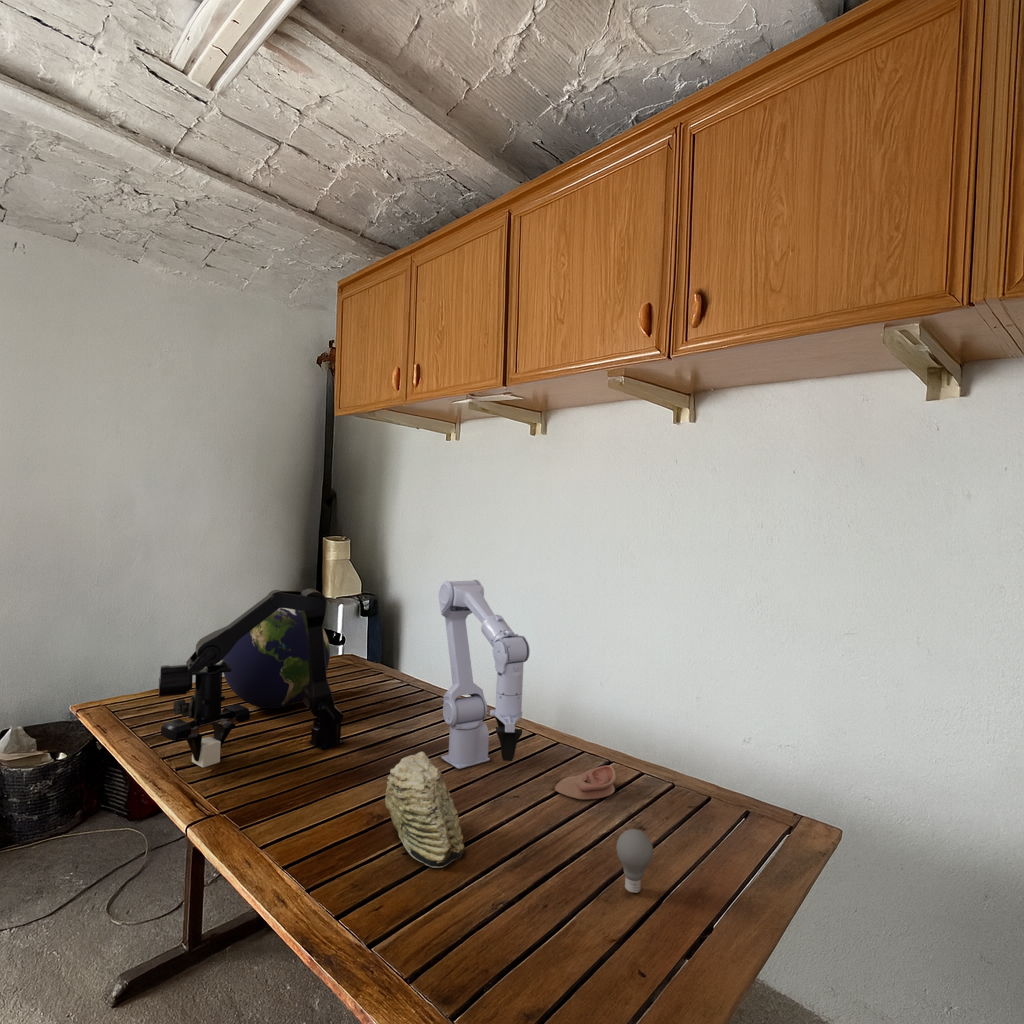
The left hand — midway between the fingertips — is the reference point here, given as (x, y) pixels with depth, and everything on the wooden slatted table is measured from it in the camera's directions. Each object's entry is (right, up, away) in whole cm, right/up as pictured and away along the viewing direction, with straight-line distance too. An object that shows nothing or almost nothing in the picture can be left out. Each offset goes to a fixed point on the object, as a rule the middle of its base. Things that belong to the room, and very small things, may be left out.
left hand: (206, 757), depth 148 cm
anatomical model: (+88, -5, -6) cm, 88 cm away
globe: (+1, 0, +40) cm, 40 cm away
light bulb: (+92, -6, -43) cm, 101 cm away
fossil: (+55, -4, -31) cm, 63 cm away
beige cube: (0, -1, 0) cm, 1 cm away
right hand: (+70, +4, -9) cm, 71 cm away
